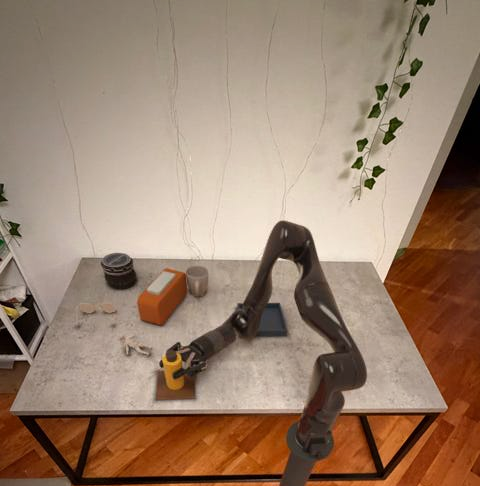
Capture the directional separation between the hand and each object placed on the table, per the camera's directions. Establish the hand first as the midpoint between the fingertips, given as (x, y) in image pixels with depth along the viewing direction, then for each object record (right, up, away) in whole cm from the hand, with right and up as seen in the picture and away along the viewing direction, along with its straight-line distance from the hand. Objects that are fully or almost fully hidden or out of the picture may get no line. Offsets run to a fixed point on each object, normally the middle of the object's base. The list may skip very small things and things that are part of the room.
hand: (166, 370), depth 101 cm
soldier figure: (-14, +9, +17) cm, 24 cm away
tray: (+30, +23, +30) cm, 48 cm away
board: (+1, -4, +8) cm, 9 cm away
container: (-28, +42, +41) cm, 65 cm away
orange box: (-7, +29, +32) cm, 44 cm away
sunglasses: (-32, +22, +26) cm, 46 cm away
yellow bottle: (+1, -3, +7) cm, 8 cm away
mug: (+5, +36, +38) cm, 53 cm away
